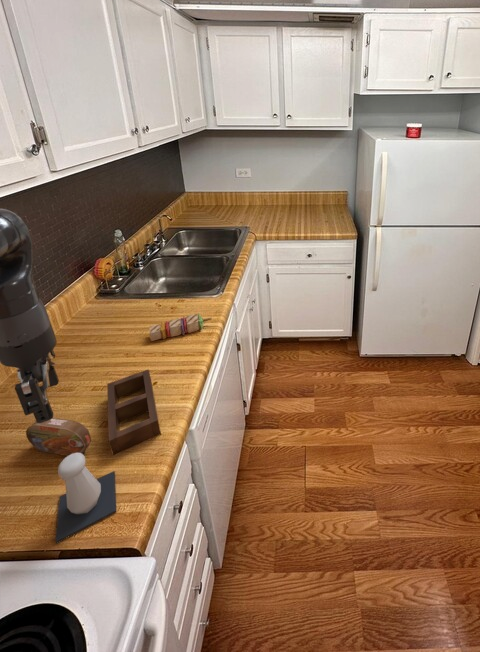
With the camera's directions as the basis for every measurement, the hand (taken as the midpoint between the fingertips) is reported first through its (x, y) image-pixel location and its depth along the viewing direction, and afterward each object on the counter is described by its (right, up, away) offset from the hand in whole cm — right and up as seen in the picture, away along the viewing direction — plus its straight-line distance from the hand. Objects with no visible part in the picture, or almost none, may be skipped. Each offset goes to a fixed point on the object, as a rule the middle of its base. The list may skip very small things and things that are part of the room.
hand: (49, 401), depth 61 cm
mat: (+2, -26, +8) cm, 27 cm away
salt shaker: (+2, -25, +8) cm, 27 cm away
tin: (-12, -21, +19) cm, 31 cm away
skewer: (+1, -5, +59) cm, 59 cm away
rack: (0, -18, +28) cm, 33 cm away
